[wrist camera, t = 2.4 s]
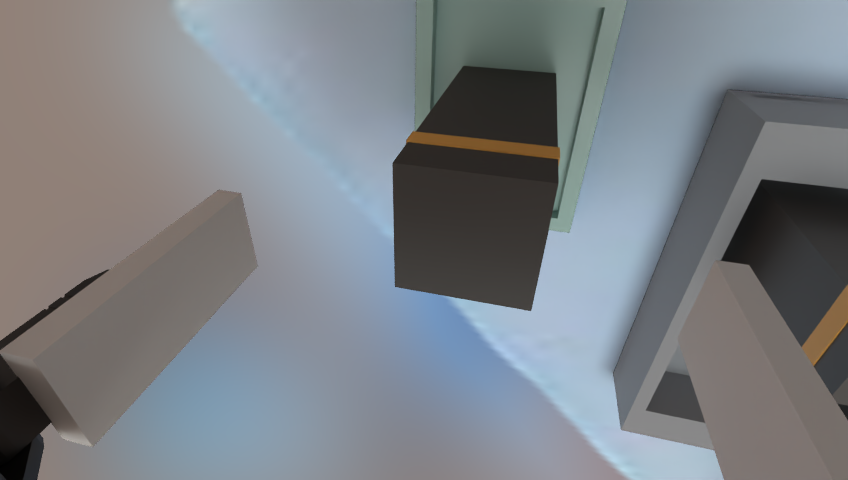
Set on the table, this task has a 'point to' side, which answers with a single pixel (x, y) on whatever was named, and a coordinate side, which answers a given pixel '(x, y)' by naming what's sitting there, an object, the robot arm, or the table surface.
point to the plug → (479, 188)
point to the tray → (526, 64)
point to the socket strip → (707, 237)
